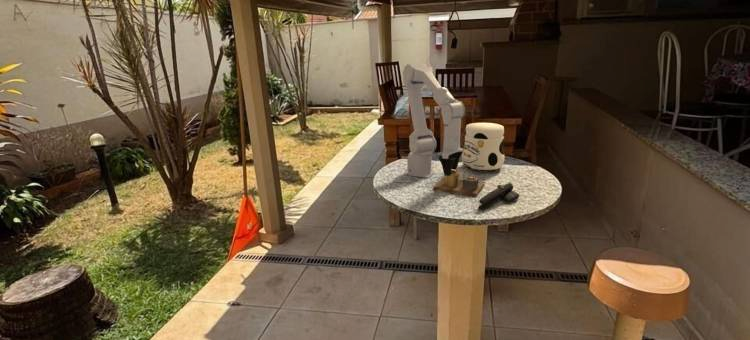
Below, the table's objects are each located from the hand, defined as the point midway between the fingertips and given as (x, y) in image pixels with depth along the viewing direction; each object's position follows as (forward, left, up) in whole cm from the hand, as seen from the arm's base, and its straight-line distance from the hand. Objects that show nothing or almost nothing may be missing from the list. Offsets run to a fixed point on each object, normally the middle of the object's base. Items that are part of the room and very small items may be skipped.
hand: (450, 172), depth 142 cm
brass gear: (+1, 0, -5) cm, 5 cm away
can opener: (+18, -7, -7) cm, 21 cm away
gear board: (+3, +1, -6) cm, 7 cm away
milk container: (+5, +28, -6) cm, 29 cm away
